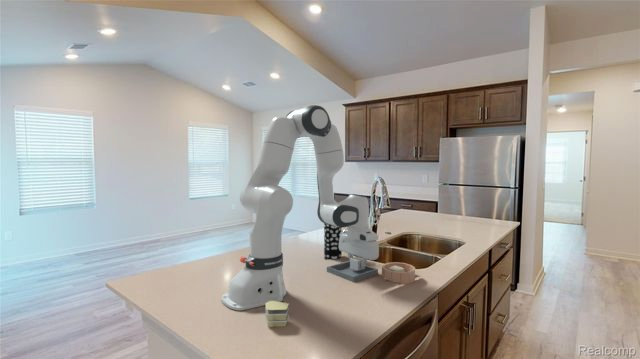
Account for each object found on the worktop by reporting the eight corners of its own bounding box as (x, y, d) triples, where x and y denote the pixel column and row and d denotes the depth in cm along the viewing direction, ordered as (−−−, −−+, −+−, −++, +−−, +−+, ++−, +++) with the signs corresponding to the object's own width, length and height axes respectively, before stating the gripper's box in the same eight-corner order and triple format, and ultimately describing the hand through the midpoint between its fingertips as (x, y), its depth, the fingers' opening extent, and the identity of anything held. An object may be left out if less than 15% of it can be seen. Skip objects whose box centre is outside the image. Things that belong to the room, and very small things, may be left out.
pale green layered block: (295, 317, 101) (295, 299, 100) (290, 332, 92) (290, 313, 91) (263, 316, 101) (263, 298, 101) (255, 331, 93) (254, 311, 92)
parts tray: (353, 284, 126) (353, 277, 126) (326, 273, 138) (326, 266, 138) (378, 275, 135) (378, 269, 135) (350, 266, 147) (350, 260, 147)
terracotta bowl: (401, 286, 123) (401, 275, 123) (375, 277, 133) (375, 266, 133) (421, 279, 131) (421, 267, 131) (395, 270, 141) (395, 260, 141)
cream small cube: (396, 280, 128) (396, 270, 128) (388, 277, 131) (388, 267, 131) (404, 278, 131) (404, 268, 130) (395, 275, 134) (395, 265, 134)
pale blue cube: (357, 270, 135) (357, 261, 135) (349, 268, 139) (350, 258, 139) (364, 268, 138) (365, 259, 138) (357, 266, 142) (357, 256, 141)
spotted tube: (335, 262, 154) (334, 219, 152) (320, 259, 159) (320, 217, 157) (344, 257, 160) (344, 216, 159) (330, 255, 165) (330, 215, 164)
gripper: (335, 229, 144) (335, 261, 144) (370, 238, 128) (370, 273, 129) (346, 228, 148) (345, 258, 148) (381, 236, 132) (381, 270, 133)
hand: (357, 265), depth 138 cm, fingers closed on pale blue cube, 4 cm apart
